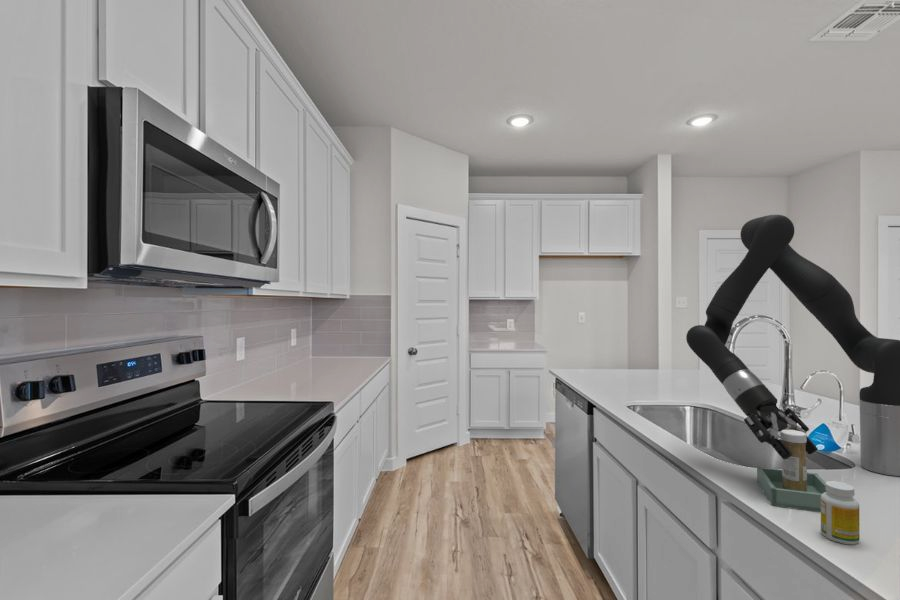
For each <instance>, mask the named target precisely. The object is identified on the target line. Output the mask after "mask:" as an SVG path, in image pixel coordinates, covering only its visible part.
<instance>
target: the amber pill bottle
mask: <svg viewBox="0 0 900 600" xmlns="http://www.w3.org/2000/svg"><path fill="white" fill-rule="evenodd" d="M806 435H807V433H806V434H805V433H804V432H801V431H797V430H782V431H781V432H780V439H781V440H782V441H783V443H784V444H785V445H786V446H787V447H788V449H789V450H790V451H791V452H792V454H793V455H792V456H791V457H790V458H788V459H783V458H782V457H781V470H782V476H783V487H782V489H787V490H796V491H804V492H807V473H808V472H807V471H808V470H807V455H806V454H807V452H806V446H805V445H806V442H807V438H806Z"/></svg>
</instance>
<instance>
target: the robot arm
mask: <svg viewBox="0 0 900 600" xmlns="http://www.w3.org/2000/svg"><path fill="white" fill-rule="evenodd" d="M794 235H795V226H794V223H793V221H792V220H791V219H790V218H789V217H788V216H785V215H782V214H769V215H764V216H759V217H755V218H752V219H750V220H748V221H747V222H745V223H744V224H743V226H742V227H741V229H740V240H741V242H742V244H743V246H744V247H745V249H747V250H748V251H747V253H746V254H745V256H744V257H743V259H742V260H741V262H740V263H739V265H738V266H737V267H736V268H735V269H734V270H733V271H732V272H731V273H730V274H729V275H728V276H727V277H726V279H724V281H723V282H722V283H721V285H720V286H719V287H718V289H717V290H716V292H715V293H714V295H713V297H712V298H711V300H710V302H709V303H708V306H707V308H706V309H705V314H706V321H705V323H704V324H703V325H701V324H699V325H694V326H692V327H691V328H689V330H688V331H687V332H686V336H685V337H686V338H685V340H686V343H687V345H688V347H689V348H690V349H691V351H692V352H693V353H694V354H695V355H696V356H697V357H698V358H699V359H700V360H701V361H702V362H703V363H704V364H705V365H706V366H707V367H708V368H709V369H710V371H711V372H712V373H713V375H714V376H715V378H716V379H717V380H718V381H719V382H720V383H721V385H722V386H723V388H724V389H725V390H726V392H727V394H728V395H729V396H730V397H731V399H732V400H733V401H734V402H735V404H736V406H738V407H739V409H740V410H741V411H742V413H744V415H745V416H746V417H745V418H744V419H743V421H744V423H745V424H746V425H747V427H748V428H749V429H750V431H751V432H752V434H753V435H754V436H755V437H756V439H757V440H758V441H759V442H760V443H762V444H763V443H766V444H768V445H771V447H772V448H773V449H774V450H775V452H776V453H777V455H779V456H780V457H781V459H782V458H783V459H788V458H790V457H791V456H792V455H793V454H792V452H791V451H790V450H789V449H788V447H787V446H786V445H785V444H784V443H783V441H782V439H781V438H780V437H779V433H781V431H782V430H797V431H801V432H804V433H805V434H806V438H807V442H806V445H805V446H806V454H808V455H811V454H812V455H813V454H814V453H816V452H817V451H818V447H817V445H816V444H815V443H814V442H813V441H812V440H811V439H810V438H809V437H808V436H807V432H808V431H810V428H809V427H808V425H806V424H805V422H804V421H802V420H801V419H800V417H799V416H798V415H797V414H796V413H795V412H794V410H792V409H791V408H789V407H787V408H785V409H784V410H781V409H780V408H779V407H778V406H777V403H778V399H777V397H776V396H775V395H774V394H773V393H772V392H771V390H769V388H768V387H767V386H766V385H765V384H764V383H763V381H762V380H761V379H760V378H759V377H758V376H757V375H756V374H755V373H754V372H753V371H751V370H750V368H748V366H747V365H745V363H744V362H743V361H742V359H740V358H739V356H738V355H737V354H735V353H734V352H732V351H731V350H729V348H728V347H727V346H726V344H727V342H728V339H729V337H730V334H731V331H732V328H733V324H734V321H735V320H736V319H737V317H738V315H739V314H740V312H741V310H742V309H743V307H744V305H745V303H746V302H747V300H748V299H749V297H750V295H751V294H752V293H753V290H754V289H755V288H756V286H757V284H758V283H759V282H760V281H761V279H762V278H763V276H764V275H765V274H766V273H767V271H768V270H769V269H770V270H771V271H772V273H774V275H776V277H777V278H778V279H779V280H780V281H781V282H782V284H783V285H785V287H786V288H787V289H788V290H789V291H790V292H791V293H792V294H793V295H794V297H795V298H796V299H797V300H798V301H799V302H800V303H801V305H803V306H804V307H805V309H807V311H808V312H809V313H810V314H811V315H813V317H815V319H816V320H817V321H818V322H819V323H820V324H821V325H822V327H823V328H825V329H826V331H828V333H830V334H831V336H832V337H833V338H834V339H835V340H836V342H837V343H838V344H839V346H840V348H841V349H842V350H843V352H844V353H845V354H846V355H847V357H848V358H849V360H850V361H851V362H852V363H853V364H854V365H855V366H856V368H858V369H859V370H862V371H864V372H865V373H869V374H870V373H871V374H873V379H872V380H873V382H872V383H871V385H869V386H864V387H862V388H860V390H859V393H858V395H859V441H860V447H859V451H860V454H859V455H860V467H862V468H863V469H865V470H868V471H871V472H874V473H876V474H877V473H878V474H883V475H888V476H894V477H900V340H899V339H892V338H883V337H877V336H875V335H874V334H872V333H871V332H870V330H868V329H867V328H866V327H865V326H864V325H863V323H861V322H860V321H859V319H858V317H857V315H856V310H855V306H854V301H853V298H852V296H851V295H850V293H849V291H848V290H847V289H846V287H844V286H843V285H842V283H840V281H839V280H837V278H835V276H834V275H833V274H831V272H829V271H827V270H826V269H824V268H822V267H820V266H819V265H818V264H816V263H814V262H812V261H811V260H809V259H807V258H805V257H804V256H802V255H801V254H799V253H798V252H797V251H795V249H794V248H793V247H792V246H791V245H790V243H791V242H792V240H793V238H794ZM797 424H798V425H797ZM760 431H761V433H760Z"/></svg>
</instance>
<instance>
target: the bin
mask: <svg viewBox="0 0 900 600" xmlns="http://www.w3.org/2000/svg"><path fill="white" fill-rule="evenodd" d="M756 481H757V484H758V485H759V486H760V488H761V490H762V492H763V491H764V492H763V493H764V495H765V496H766V498H767V500H768V501H769V503H770V504H771V506H774V507H782V508H787V507H790V508H789V509H794V508H796V510H804V511H811V512H817V513H821V495H822V494H823V493H825V492H827V491H826V489H825V483H826V482H827V481H825V480H824V479H823V478H822V477H821V476H820V475H819V474H818V473H815V472H807V492H804V491H796V490H787V489H782V487H783V476H782V469H777V468H769V467H761V466H757V467H756Z"/></svg>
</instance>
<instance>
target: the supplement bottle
mask: <svg viewBox="0 0 900 600" xmlns="http://www.w3.org/2000/svg"><path fill="white" fill-rule="evenodd" d="M825 482H826V483H825V489H826V491H827V492H825V493H823V494H822V495H821V512H820V533H821V535H823V536H824V538H826V539H828V540H830V541H832V542H836V543H840V544H844V545H849V546H850V545H852V546H853V545H857V544H859V542H860V539H861V538H860V535H861V534H860V502H859V501H858V500H857V499H856V498H855V497H854V496H855V495H856V494H855V487H854V486H853V485H850V484H848V483H846V482H845V483H844V482H841V481H835V480H831V481H830V480H829V481H825Z"/></svg>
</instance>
